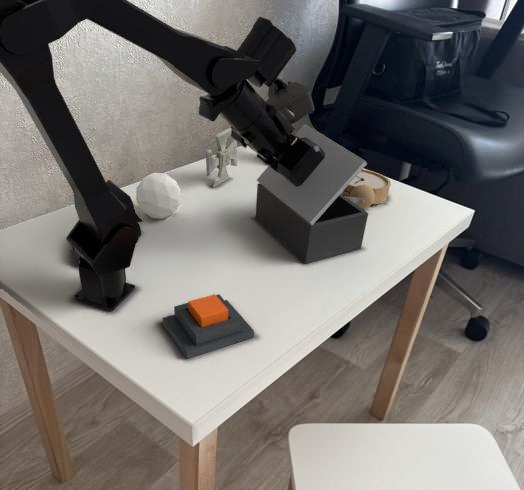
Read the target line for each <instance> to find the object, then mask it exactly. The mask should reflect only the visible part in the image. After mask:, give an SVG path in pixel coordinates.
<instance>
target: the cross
mask: <svg viewBox="0 0 524 490" xmlns="http://www.w3.org/2000/svg"><path fill="white" fill-rule="evenodd" d="M229 137H231V127H228V128H226V129H224V130H222V131H221V132H219V133H217V134H215V135H214V138H215V142H216V147H217V151H215V152H216V154H215V155H214V156H213V153H212V149H205V169H206V170H205V171H206V177H210V175H211V174H212V173H213V172H214V171H215V169H218V172H217V176H215V177H214V178H213V182H212V188H215V187H217V186H219V185H221V184H222V183H224V182H225V181H227V180H228V179H229V178H230V176H229V173H228V168H227V166H229V165H231V166H232V167H233V166H234V167H238V143H237V142H236V141H235V140H234V139H233V141H232V142H231V144H229V146H228V147H226V146H227V143H228V142H227V141H228V138H229Z"/></svg>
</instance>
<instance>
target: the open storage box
mask: <svg viewBox="0 0 524 490" xmlns="http://www.w3.org/2000/svg"><path fill="white" fill-rule="evenodd" d="M368 217H369V212H367V211H366V210H365V209H362V208H360V207H359V206H357V205H356V204H354V203H353V202H352V201H350V200H349V199H347V198H346V197H345V196H343V195H342V194H340V195H339V196H338V197H337V198H336V199H335V200H334V202H333V203H332V204H331V205H330V206H329V207H328V208H327V209H326V211H325V212H324V213H323V214H322V215H321V216H320V217H319V218H318V220H317V221H316V222H315V223H314V224H313V225H311V224H310V223H309V222H307V221H306V220H305V219H304V218H302V217H301V216H300V215H299V214H297V213H296V212H295V211H294V210H292V209H291V208H290V207H289V206H287V205H286V204H285V203H284V202H282V201H281V200H280V199H279V198H277V197H276V196H275V195H274V194H272V193H271V192H270V191H269V190H267V189H266V188H265V187H264V186H262V185H261V184H260V183H257V187H256V200H255V215H254V219H255V220H256V221H257V222H258V223H259V224H260V225H261V226H263V228H265V229H266V230H267V231H268V233H270V234H271V235H273V236H274V238H276V239H277V240H278V241H279V242H281V243H282V244H283V245H284V246H285V247H286V248H287V249H288V250H289V251H290V252H292V253H293V254H294V255H295V256H296V257H297V258H298V259H300V260H301V261H302V262H303V263H304V264H306V265H307V264H309V263H314V262H317V261H318V262H319V261H321V260H326V259H328V258H329V259H330V258H333V257H336V256H340V255H344V254H348V253H351V252H354V251H359V250H361V249H362V247H363V246H362V245H363V241H364V236H365V231H366V226H367V221H368Z"/></svg>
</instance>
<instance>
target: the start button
mask: <svg viewBox="0 0 524 490" xmlns="http://www.w3.org/2000/svg"><path fill="white" fill-rule="evenodd" d="M216 295H217V294H215V293H213V294H210V295H206V296H203V297H199V298H195V299H192V300H188V301H187V303H188V312H189V313H190V314H191V315H192V317H193V318H194V319H195V321H196V322H197V323H198V324H199V326H200V327H201V328H202V327H205V326H209V325H212V324H215V323H219V322H222V321H225V320H228V309H227V308H226V306H225V305H224V304H223V303H222V302H221V301H220V300H219V298H218V297H217V296H216Z"/></svg>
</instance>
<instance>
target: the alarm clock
mask: <svg viewBox="0 0 524 490" xmlns="http://www.w3.org/2000/svg"><path fill="white" fill-rule="evenodd" d="M391 185H392V183H391V180H390V179H389V178H388V177H387V176H385V175H383V174H382V173H379V172H376V171H373V170H370V169H367V168H363V169H362V170H361V171H360V172H359V174H358V175H357V176H356V177H355V178H354V179H353V180H352V181H351V183H350V184H349V185H348V186H347V187H346V188H345V189H344V190H343V192H342V193H341V194H342V195H343V196H345V197H346V198H347V199H349V200H350V201H352V202H353V203H354V204H356V205H357V206H359V207H360V208H362V209H363V210H366V209H368V208H369V207H371V206H372V205H380V204H383V203H385V202H386V201H387V200H388V196H389V191H390V187H391Z"/></svg>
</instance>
